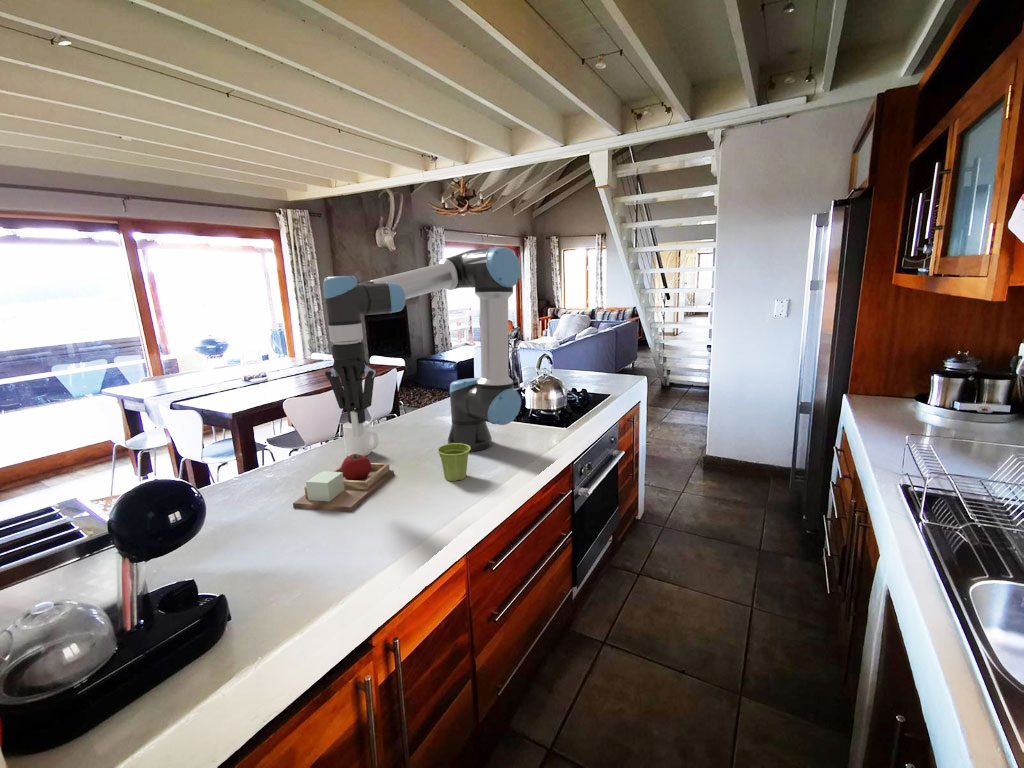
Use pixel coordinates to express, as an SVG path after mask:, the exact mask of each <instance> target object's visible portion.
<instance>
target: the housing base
mask: <svg viewBox="0 0 1024 768" xmlns="http://www.w3.org/2000/svg"><path fill="white" fill-rule="evenodd" d="M370 463H371V471H370V473H369V474H368V476H367V477H365V478H364V479H361V480H355V481H354V480H346V479H345V477H344V476H343V480H344V491H343V492H341V493H340V494H339V495H337V496H336V497H335V498H334V499H332V500H331V501H330V502H328V501H313V500H308V494H307V486H306V485H305V486H304V495H303V496H301V497H299V498H298V499H297V500H295V501H294V502H292V507H293V508H294V509H296V508H297V509H309V510H321V511H337V512H339V511H340V512H348V513H349V512H352V511H353V510H355V509H357V507H359V505H360V504H362V503H363V502H364V501H365V500H366V499H367V498H368V497H370V496H371V495H372V494H374V492H375V491H377V490H378V489H379V488H380V487H381V486H382V485H384V483H386V482H387V481H388V480H389V479H390V478H391V477H393V476H394V475H395V470H394V469H391V468H390V463H383V462H382V463H380V462H379V463H378V462H370ZM331 472H341V465H340V466H339V467H337V468H336V469H334V470H332V471H331Z"/></svg>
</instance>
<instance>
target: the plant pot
mask: <svg viewBox="0 0 1024 768" xmlns="http://www.w3.org/2000/svg"><path fill="white" fill-rule="evenodd" d="M470 449H471V447H470V446H469V445H466V444H462V443H452V444H448V443H447V444H443V445H441V446H439V447H438V448H437V453H438V454H439V458H440V461H441V466H442V470H443V471H442V472H443V476H444V479H445V480H447V481H448V482H449V481H450V482H457V481H462V480H465V478H466V477H467V472H468V471H467V470H468V459H469V454H470V452H469V451H470Z"/></svg>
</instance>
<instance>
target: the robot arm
mask: <svg viewBox="0 0 1024 768" xmlns="http://www.w3.org/2000/svg"><path fill="white" fill-rule="evenodd" d="M521 276H522V267H521V263H520V259H519V258H518V256H517V254H515V252H514V251H513V250H512V249H511V248H508V247H505V246H491V247H486V248H485V247H484V248H479V249H478V248H477V249H471V250H467V251H465V252H461V253H459V254H457V255H452V256H449V257H446V258H442V259H441V260H440V261H439V262H438V263H437V264H432V265H428V266H424V267H421V268H416V269H412V270H408V271H405V272H400V273H396V274H393V275H392V274H391V275H388V276H383V277H379V278H375V279H371V280H367V281H364V282H360V283H358V281H357V277H356V276H354V275H349V276H348V275H342V276H341V275H340V276H339V275H337V276H335V275H334V276H327V277H325V278H324V280H323V286H322V287H323V299H324V304H325V310H326V315H327V324H328V325H327V327H328V335H329V341H330V342H331V343H332V344H331V346H330V347H331V348H330V349H331V357H332V359H333V364H332V368H331V369H329V370H327V371H325V373H324V375H325V377H326V378H327V379H328V381H329V382H330V386H331V389H332V391H333V394H334V396H335V399H336V402H337V405H338V408H339V409H341V410H345V411H346V412H347V418H348V419H347V420H348V422H349V423H352V430H353V437H360V436H362V435H363V434H364V427H363V423H364V422H365V421H366V415H365V410H366V409H367V408H369V407H371V406H372V402H373V401H372V400H373V391H374V383H375V378H376V376H377V373H378V369H376V368H374V369H372V368H371V367H370V366H368V362H367V361H366V352H365V351H366V350H365V343H364V342H363V341H362V340H363V339H364V333H363V326H362V316H368V315H369V316H370V315H382V314H392V313H397V312H398V313H399V312H401V311H402V310H403V309H404V308H405V305H406V300H409V299H413V298H416V297H418V296H423V295H427V294H430V293H433V292H436V291H440V290H444V289H446V290H449V291H452V290H456V289H464V288H467V289H468V288H474V294H475V295H476V296H477V297H478V298H479V305H480V307H479V309H480V310H479V311H480V312H479V313H480V315H479V316H480V319H479V320H480V321H479V322H480V375H481V376H480V377H473V378H472V377H471V378H470V377H469V378H463V379H457V380H455V381H452V382H451V383H450V384H449V385H450V386H449V400H450V402H449V403H450V416H451V426H450V429H449V430H450V431H449V434H448V438H447V444H452V443H462V444H466V445H469V446H470V447H471V449H470V451H469V453H471V452H478V451H483V450H487V449H488V448H490V447H491V446H492V444H493V441H492V440H493V439H492V435H491V433H490V430H489V429H490V428H489V427H488V425H487V423H489V424H492V425H499V426H505V425H506V426H507V425H508V424H510V423H512V422H513V421H515V419H516V417H517V416H518V415H519V413H520V411H521V408H522V407H521V405H522V398H521V395H520V394H519V392H518V391H517V390H515V389H514V380H513V379H512V378H511V377H510V375H509V299H510V298H511V296H512V295H513V294H514V286H516V285H517V284H518V283H519V280H520V278H521ZM363 375H364V376H365V379H364V380H363ZM363 381H364V383H363Z"/></svg>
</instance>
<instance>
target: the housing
mask: <svg viewBox="0 0 1024 768" xmlns="http://www.w3.org/2000/svg"><path fill="white" fill-rule="evenodd" d="M305 483H306V484H305V486H307V494H308V500H313V501H328V502H330V501H331V500H332V499H334V498H335V497H336V496H337V495H339V494H340V493H341V492H343V491H344V480H343V472H332V471H324V470H322V471H320V472H319V473H317V474H316V475H313V476H312V477H311V478H310V479H308V480H306V481H305Z"/></svg>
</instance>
